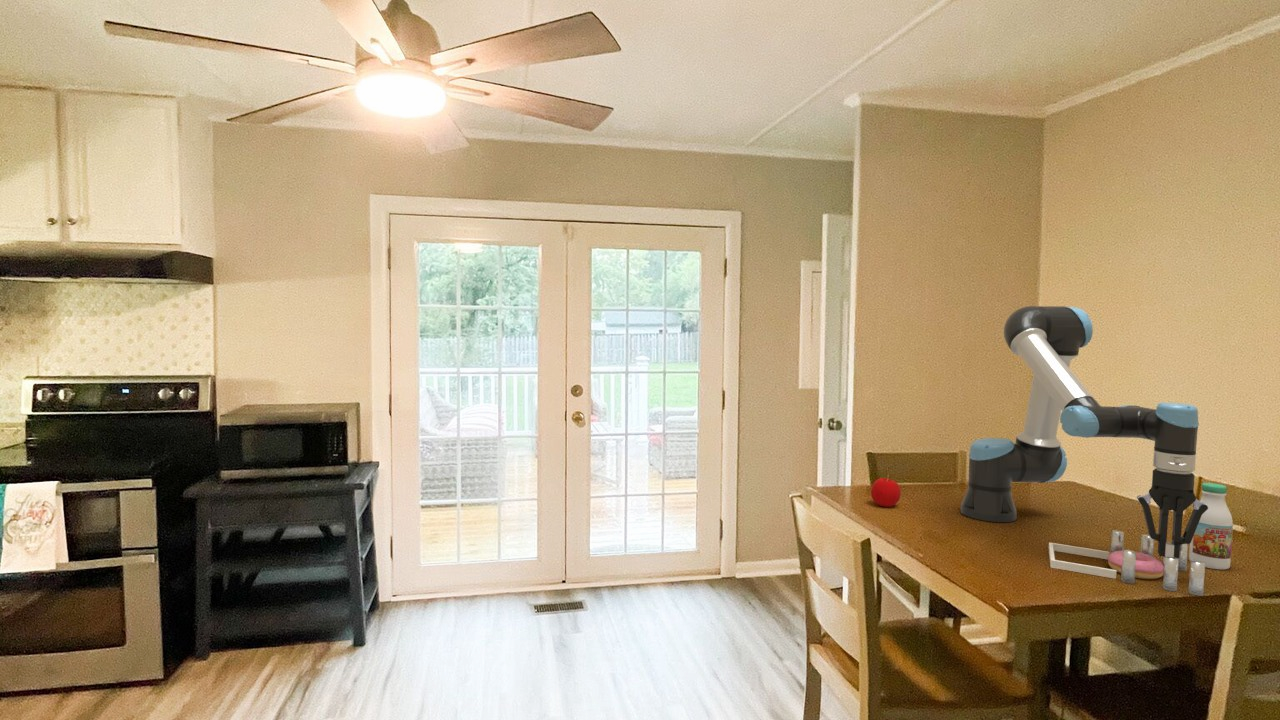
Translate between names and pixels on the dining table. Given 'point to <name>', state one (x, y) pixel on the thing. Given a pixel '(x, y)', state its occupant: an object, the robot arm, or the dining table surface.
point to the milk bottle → (1213, 530)
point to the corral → (1080, 567)
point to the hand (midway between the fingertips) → (1167, 570)
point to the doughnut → (1138, 565)
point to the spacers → (1169, 564)
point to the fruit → (885, 492)
